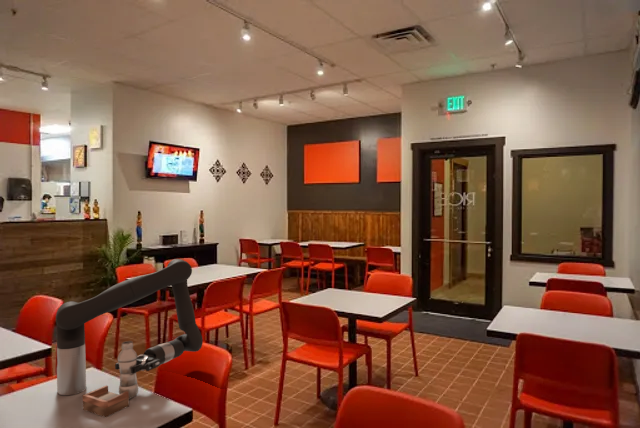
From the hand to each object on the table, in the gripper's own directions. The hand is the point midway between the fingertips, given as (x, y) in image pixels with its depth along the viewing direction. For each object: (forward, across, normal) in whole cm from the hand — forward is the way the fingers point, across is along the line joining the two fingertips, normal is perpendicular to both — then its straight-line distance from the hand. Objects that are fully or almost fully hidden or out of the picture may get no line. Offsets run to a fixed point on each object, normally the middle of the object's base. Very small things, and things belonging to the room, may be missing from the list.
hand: (123, 368), depth 158 cm
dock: (+7, 0, +11) cm, 13 cm away
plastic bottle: (-2, 0, +11) cm, 11 cm away
